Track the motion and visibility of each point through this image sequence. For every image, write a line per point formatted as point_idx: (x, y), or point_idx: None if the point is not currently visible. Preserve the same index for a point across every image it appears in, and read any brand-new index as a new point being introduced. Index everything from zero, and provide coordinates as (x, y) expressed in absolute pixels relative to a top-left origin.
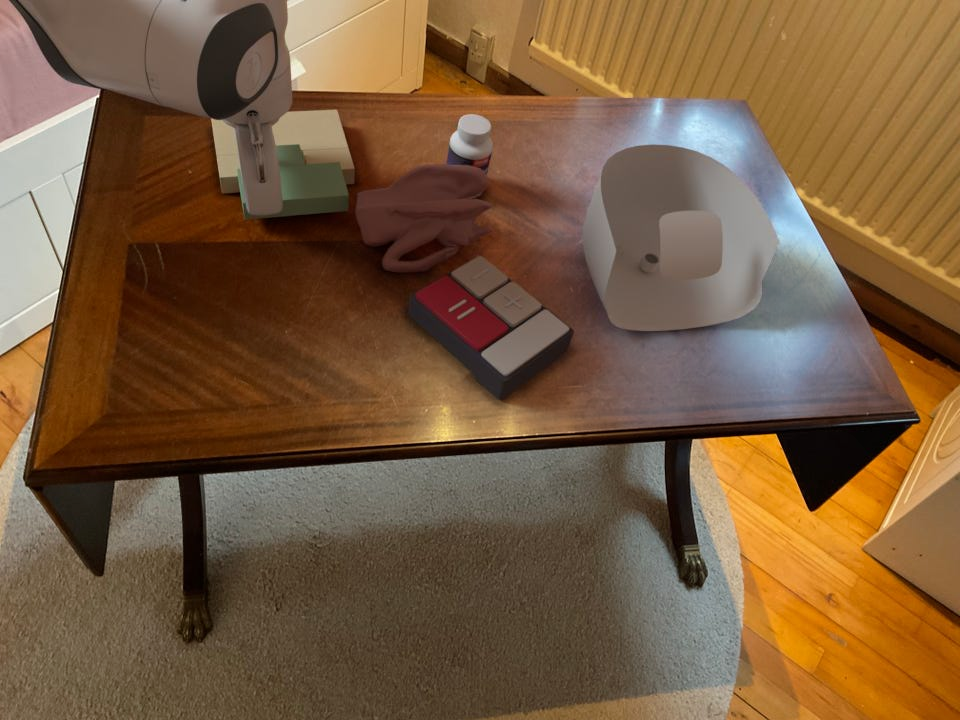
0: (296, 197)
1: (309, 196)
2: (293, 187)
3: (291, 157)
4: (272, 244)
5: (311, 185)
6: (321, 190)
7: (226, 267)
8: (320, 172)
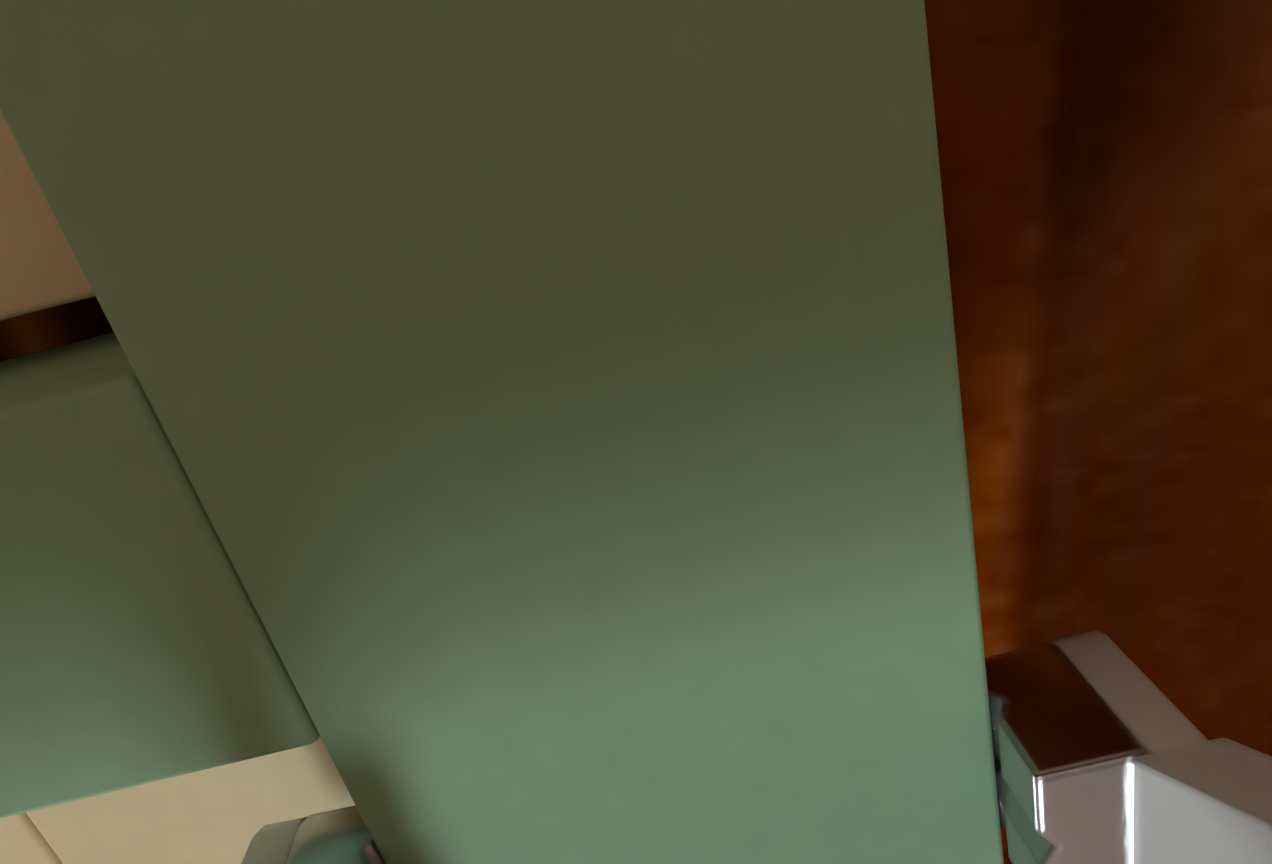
0: (930, 410)
1: (914, 225)
2: (719, 472)
3: (50, 574)
4: (1056, 468)
5: (641, 216)
6: (760, 27)
7: (1244, 715)
8: (261, 84)
